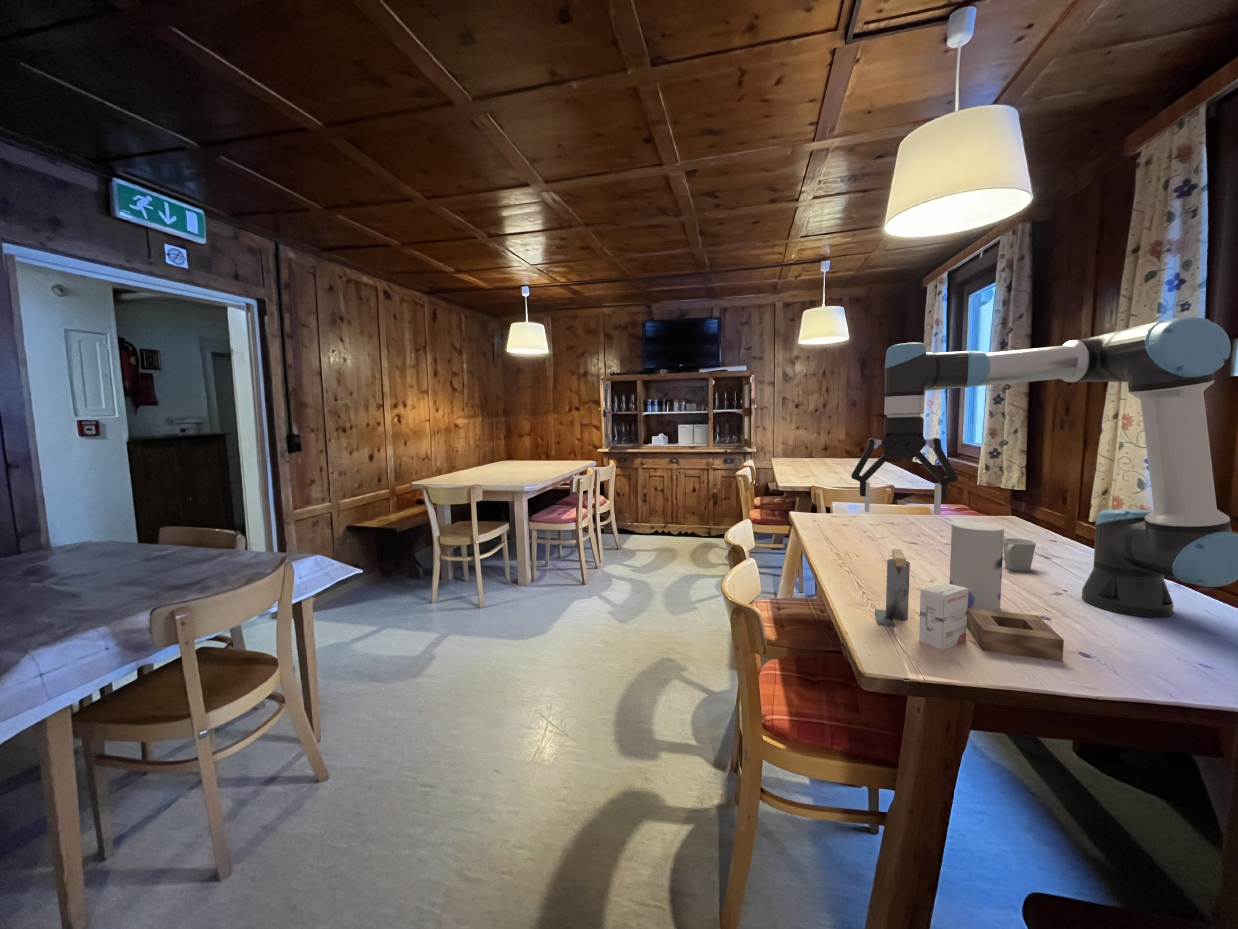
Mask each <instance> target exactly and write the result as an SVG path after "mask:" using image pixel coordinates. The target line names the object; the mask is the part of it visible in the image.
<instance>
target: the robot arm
mask: <svg viewBox="0 0 1238 929" xmlns="http://www.w3.org/2000/svg"><path fill="white" fill-rule="evenodd" d="M1230 353H1231V341H1230V338H1229V335H1228V334H1227V332H1226V330H1225V329H1223V327H1221V326H1220V325H1219V324H1217V323H1215V322H1213V321H1212V320H1210V319H1208V318H1204V317H1199V316H1186V317H1177V318H1175V317H1174V318H1167V319H1164V320H1160V321H1155V322H1151V323H1147V324H1142V325H1137V326H1132V327H1128V328H1122V329H1119V330H1114V331H1111V332H1107V333H1103V334H1099V335H1096V336H1091V337H1087V338H1086V337H1085V338H1082V339H1072V340H1068V341H1066V342H1064V343H1063V344H1062V345H1058V346H1045V347H1036V348H1026V349H1015V350H1005V351H995V352H984V351H980V350H978V351H977V350H964V351H962V350H961V351H960V350H959V351H946V352H945V351H944V352H943V351H942V352H930V351H929V352H928V350H927V347H926V344H925V343H923V342H906V343H904V342H903V343H897V344H894V345H890V346H889V347H888V348H887V350H886V354H885V361H884V362H885V363H884V409H883V410H884V415H885V416H886V417H885V418H884V420H883V437H882V439H874V438H868V439H867V444H866V449H865V450H864V452H863V454H862V456H861V458H860V459H859V460H858V462H857V463H856V466H855V467H854V469H853V471H852V473H851V475H850V477H851V479H852V480H854V481H857V482H859V496H860V497H864V512H867V513H870V497H871V496H870V495H871V493H870V492H871V491H870V489H871V488H870V487H871V483H870V481H868V480H869V479H870V478H871V477H872V476H873V475H874V474H875V473H876V472H877V471H878V470H879V469H880V468H881V467H882V466H883V465H884V464H885V463H886V462H887V461H888V460H889V459H890V458H892V459H895V460H901V459H906V460H912V459H914V458H916V459H917V460H918V461H919V462H920V463H921V464H922V466H924V468H926V470H927V471H929V473H930V474H931V475H932V476H933V477H934V478H935V479H936V480H937V481H938V483H937V482H936V483H934V494H933V495H934V498H933V499H934V500H933V513H934V514H935V516H941V510H942V509H941V508H942V507H941V506H942V500H946V499H947V496H948V484H950V483H955V482H957V481H958V480H959V478H958V476H957V473H956V472H955V470H954V469H953V467H952V465H951V463H950V461H949V459H948V458H947V456H946V453H945V451H944V450H943V449H942V441H941V438H939V437H933V438H931V439H929V438H927V439H925V437H924V430H925V429H924V428H925V424H924V422H925V421H924V420H925V419H924V418H923V416H922V415H923V414H925V393H926V392H927V391H936V390H937V391H939V390H947V389H956V388H957V389H959V388H970V387H982V386H991V385H993V386H995V385H1003V384H1005V385H1006V384H1015V383H1028V382H1038V381H1039V382H1040V381H1052V380H1062V381H1064V382H1066V383H1079V382H1105V383H1107V382H1111V383H1127V388H1128V393H1129V394H1130V395H1132V396H1134V397H1136V398H1137V399H1139V400H1140V406H1141V415H1142V416H1141V417H1142V423H1143V432H1144V441H1145V449H1146V455H1147V456H1146V458H1147V464H1148V472H1149V474H1148V475H1149V481H1150V487H1151V495H1152V496H1151V498H1152V505H1153V509H1151V510H1149V509H1148V510H1147V509H1102V510H1100V511H1099V512H1098V514H1097V515H1096V521H1095V524H1094V526H1095V532H1094V534H1095V535H1094V550H1093V551H1094V552H1093V554H1094V555H1093V568H1092V571H1091V572H1090V574H1089V575H1088V578H1087V579H1086V581H1085V583H1084V585H1083V587H1082V589H1081V599H1082V600H1083V601H1084V602H1085V603H1088V604H1090V605H1092V606H1095V607H1097V608H1101V609H1104V610H1108V611H1110V612H1116V613H1122V614H1126V615H1132V616H1136V617H1137V616H1139V617H1147V618H1148V617H1149V618H1165V617H1171V616H1172V615H1173V614H1174V603H1173V599H1172V597H1171V594H1170V591H1169V589H1168V587H1167V584H1166V581H1165V576H1166V577H1169V578H1171V579H1176V580H1178V581H1179V582H1183V583H1186V584H1191V585H1196V586H1200V587H1205V588H1218V587H1219V588H1220V587H1223V586H1227V585H1230V584H1233V583H1235V582H1237V581H1238V534H1237V533H1235V532H1233V531H1232V526H1231V518H1230V516H1229V515H1227V514H1225V513H1224V512H1222V511H1221V510H1219V509H1218V506H1217V498H1216V491H1215V488H1216V487H1215V482H1214V481H1215V480H1214V472H1213V465H1212V462H1213V461H1212V457H1211V456H1212V455H1211V445H1210V436H1209V430H1208V420H1207V419H1208V418H1207V412H1206V404H1205V394H1204V392H1205V390H1207V388H1209V387H1210V386H1211V385H1213V384H1214V383H1215V375H1214V372H1216V371H1219V369H1221V368H1223V366H1224V365H1225V361H1226V360H1228V359H1229V358H1230ZM926 445H927V446H928V448H929V449H932V451H933V453H934V454H935V456H936V458H937V460H938V462H939V463H940V466H941V468H942V469H943V470H944V472H945V474H946V476H944V475H943V474H942V473H941V471H939V470H938V469H937V467H935V466H934V465H933V463H931V461H930V460H929V459H928V458H927V457H926V456H925V455H924V453H922V450H923V448H925V447H926ZM879 446H882V448H883V449H884V450H885V451H884V452H882V454H881V455H880V456H879V458H877V460H876V461H875V462H874V463H873V464H872V465H871V466H869V468H868V469H866V471H865V472H864V473H863V474H862V475H860V474H861V472H862V470H863V469H864V467H865V466H866V463H867V462H868V461H869V458H870V457H871V456H872V453H873V451H874V449H875V450H876V449H877V448H878V447H879Z"/></svg>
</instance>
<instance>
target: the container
mask: <svg viewBox="0 0 1238 929" xmlns="http://www.w3.org/2000/svg"><path fill="white" fill-rule="evenodd" d="M1004 535H1005V528H1004V527H1003V526H1001V525H998V524H993V523H988V522H982V521H981V522H980V521H965V520H964V521H954V522H952V523H951V534H950V558H949V559H950V562H949V584H952V585H957V586H961V587H965V588H967V589H968V607H967V608H973V609H982V610H992V611H999V610H1000V609H1001V601H1002V600H1001V597H1002V581H1003V580H1002V578H1003V577H1002V576H1003V558H1004V549H1003V540H1004V539H1005V537H1004Z"/></svg>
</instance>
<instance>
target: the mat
mask: <svg viewBox="0 0 1238 929" xmlns="http://www.w3.org/2000/svg"><path fill="white" fill-rule="evenodd" d="M874 613H875V616H876V621H877V625H879V626H885V627H894V628H895V627H896V625H895V622H894V619H893V620H890V619H888V618H886V609H885V610H884V609H878V608H877V609H876V608H875V609H874Z"/></svg>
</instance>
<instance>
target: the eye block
mask: <svg viewBox="0 0 1238 929" xmlns="http://www.w3.org/2000/svg"><path fill="white" fill-rule="evenodd" d="M966 629H967V630H968V631H969V633H971V635H972V637H973V639H974V640H975V641H976V643H977V644H978V645H979V646H978V647H980V648H981V650H982V651H983V652H991V653H997V654H1004V655H1013V656H1019V657H1026V658H1027V657H1028V658H1033V659H1043V660H1048V661H1049V660H1051V661H1055V662H1063V659H1064V642H1065V640H1064V638H1062V637H1061V635H1059V634H1058V633H1057V632H1056V631H1055V630H1054V629H1053V628H1052V627H1051V626H1049V624H1048V623H1046V622H1045V621H1044V620H1043V619H1042V618H1041V617H1040V616H1039V615H1036V614H1030V613H1029V614H1027V613H1018V612H1009V611H1001V610H1000V611H999V610H996V611H992V610H982V609H973V608H967V628H966Z"/></svg>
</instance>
